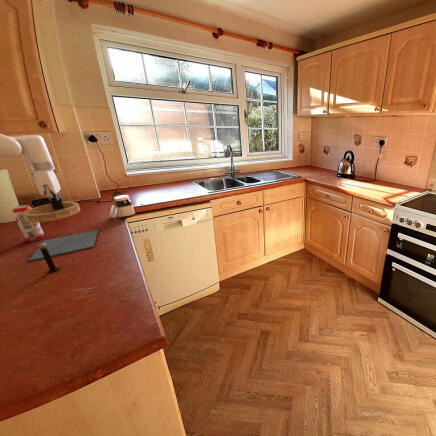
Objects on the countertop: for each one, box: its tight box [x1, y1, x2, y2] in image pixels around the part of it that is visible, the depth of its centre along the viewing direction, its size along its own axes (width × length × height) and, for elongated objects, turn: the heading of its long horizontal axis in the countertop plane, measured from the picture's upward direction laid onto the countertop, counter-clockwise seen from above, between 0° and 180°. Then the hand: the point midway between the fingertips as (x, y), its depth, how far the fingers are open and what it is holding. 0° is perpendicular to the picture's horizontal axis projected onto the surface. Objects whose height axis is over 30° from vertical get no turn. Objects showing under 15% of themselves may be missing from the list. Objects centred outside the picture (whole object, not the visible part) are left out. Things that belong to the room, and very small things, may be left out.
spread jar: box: [109, 194, 136, 220], centre depth 135 cm, size 12×11×12 cm
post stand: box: [37, 242, 59, 274], centre depth 86 cm, size 3×3×11 cm
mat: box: [28, 229, 99, 262], centre depth 107 cm, size 20×20×1 cm
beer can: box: [12, 204, 45, 243], centre depth 110 cm, size 6×6×16 cm
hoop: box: [22, 201, 81, 223], centre depth 101 cm, size 17×17×3 cm
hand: (59, 208), depth 107 cm, fingers closed on hoop, 1 cm apart
